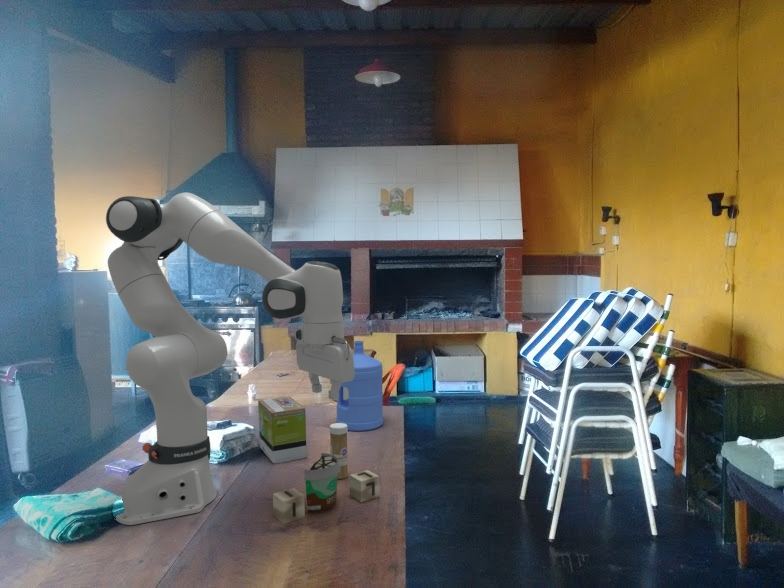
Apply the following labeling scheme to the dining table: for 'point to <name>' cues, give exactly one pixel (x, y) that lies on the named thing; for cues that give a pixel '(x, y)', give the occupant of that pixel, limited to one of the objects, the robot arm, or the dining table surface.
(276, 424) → the tea box
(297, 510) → the numbered block one
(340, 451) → the sprinkles bottle
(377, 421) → the water jug
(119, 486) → the dining table surface
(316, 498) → the food container
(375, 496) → the numbered block seven
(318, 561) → the dining table surface
